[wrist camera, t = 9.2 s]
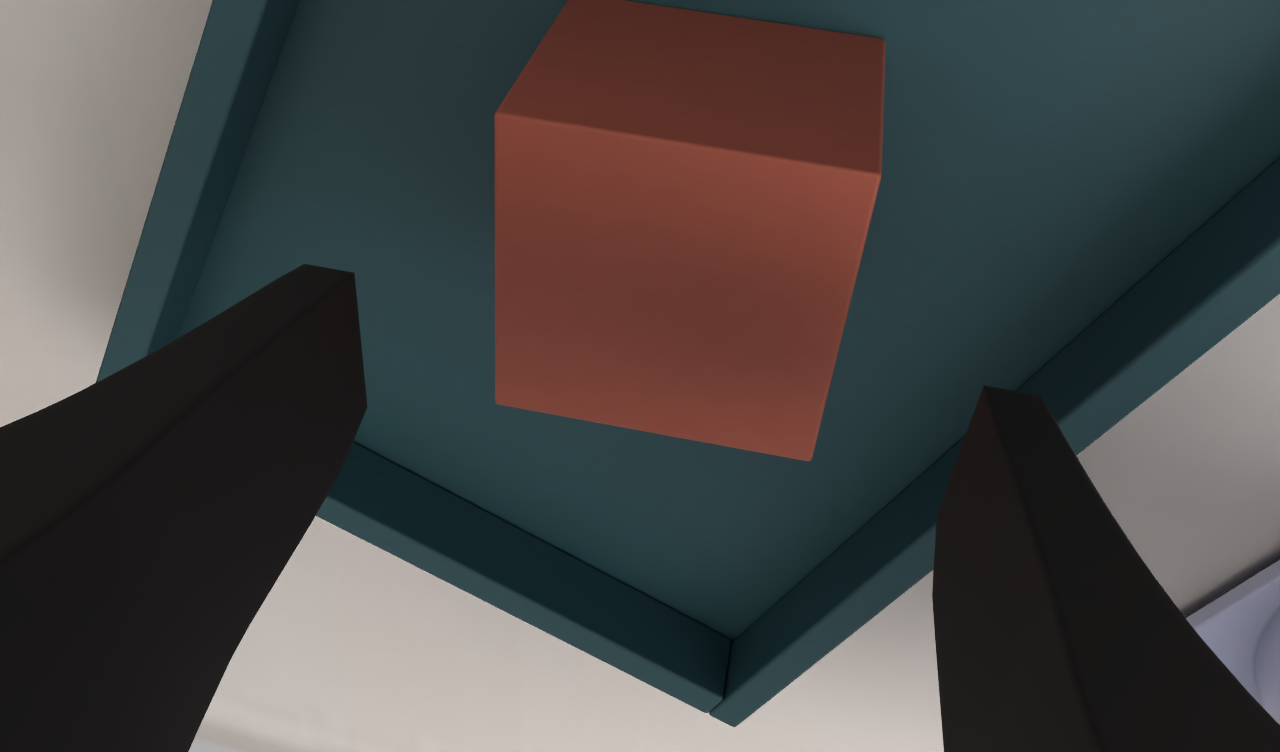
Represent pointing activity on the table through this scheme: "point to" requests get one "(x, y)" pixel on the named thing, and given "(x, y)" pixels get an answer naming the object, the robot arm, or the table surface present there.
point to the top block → (683, 221)
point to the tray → (873, 333)
